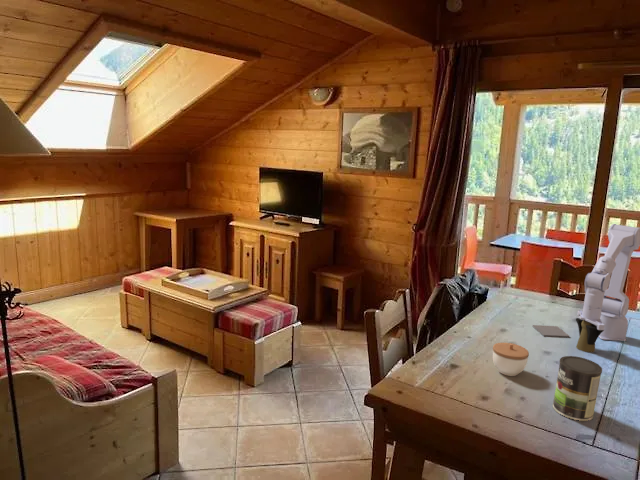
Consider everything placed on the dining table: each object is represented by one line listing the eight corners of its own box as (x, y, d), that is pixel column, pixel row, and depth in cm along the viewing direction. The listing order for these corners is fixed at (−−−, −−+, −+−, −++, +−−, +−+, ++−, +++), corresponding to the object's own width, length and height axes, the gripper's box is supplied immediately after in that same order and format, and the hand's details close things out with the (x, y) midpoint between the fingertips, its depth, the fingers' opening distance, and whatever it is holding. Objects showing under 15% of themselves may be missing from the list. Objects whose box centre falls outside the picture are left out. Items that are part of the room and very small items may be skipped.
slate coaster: (556, 328, 194) (557, 326, 194) (569, 338, 185) (569, 336, 184) (532, 327, 194) (532, 325, 194) (543, 337, 185) (543, 334, 184)
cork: (597, 353, 171) (602, 324, 169) (579, 351, 172) (584, 322, 170) (591, 346, 177) (596, 318, 175) (574, 344, 178) (578, 316, 176)
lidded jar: (503, 381, 148) (507, 353, 146) (483, 365, 158) (486, 338, 156) (533, 378, 151) (537, 350, 149) (511, 362, 161) (514, 336, 159)
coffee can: (566, 421, 127) (574, 373, 124) (545, 401, 137) (552, 355, 134) (602, 421, 128) (611, 373, 125) (579, 400, 138) (586, 355, 135)
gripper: (571, 298, 178) (566, 332, 181) (592, 312, 164) (586, 349, 167) (590, 299, 178) (584, 333, 181) (613, 313, 164) (606, 350, 167)
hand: (586, 341), depth 174 cm, fingers closed on cork, 5 cm apart
